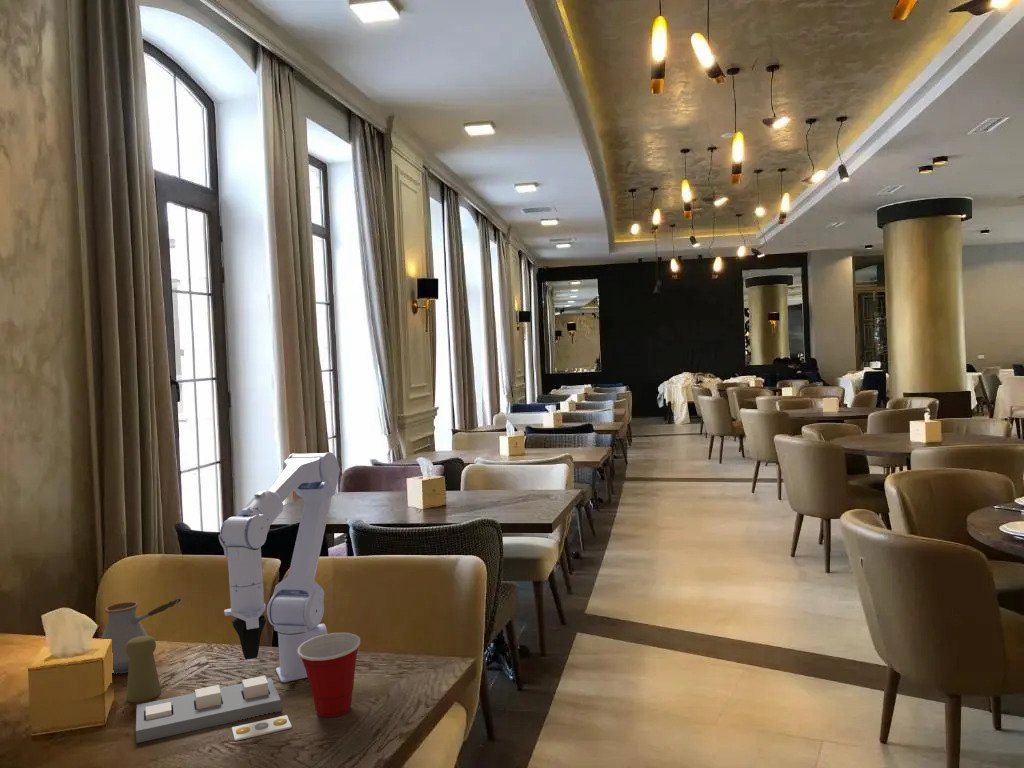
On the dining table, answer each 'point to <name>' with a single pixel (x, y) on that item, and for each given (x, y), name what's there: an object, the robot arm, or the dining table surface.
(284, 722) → the card
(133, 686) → the olive pepper shaker
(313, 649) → the plastic cup
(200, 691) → the button middle
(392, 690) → the dining table surface
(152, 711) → the button
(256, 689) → the button
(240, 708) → the button board
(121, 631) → the coffee pot
